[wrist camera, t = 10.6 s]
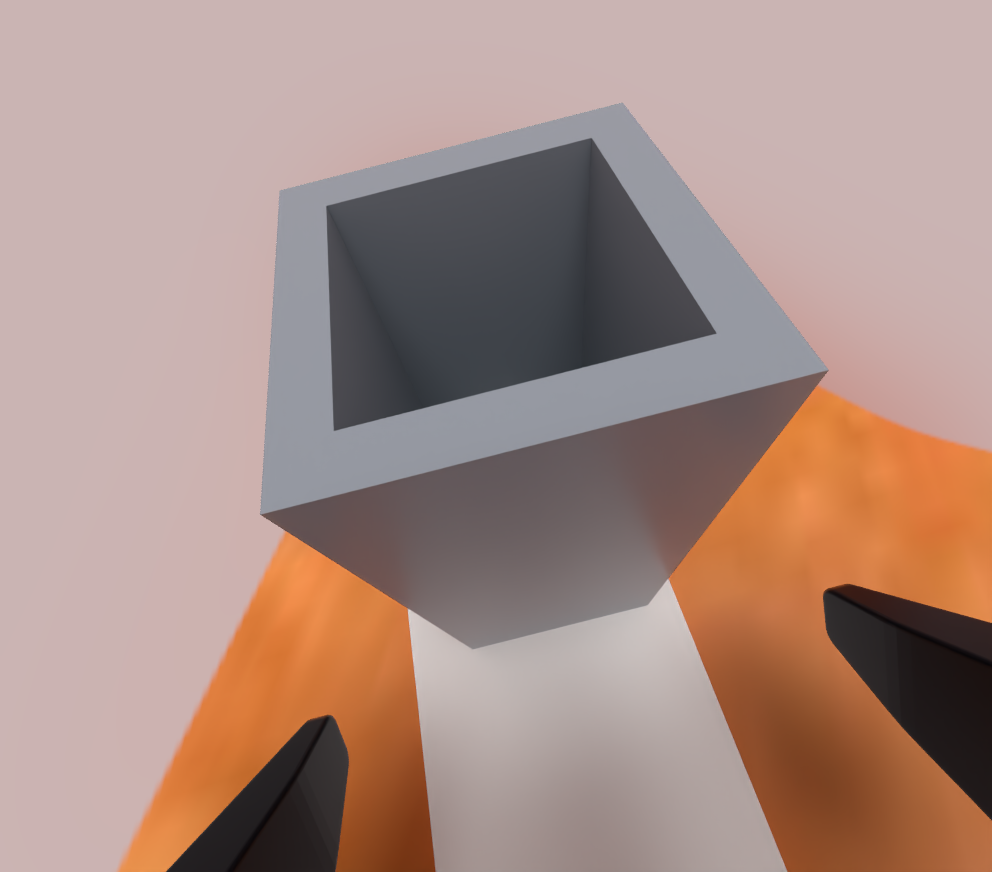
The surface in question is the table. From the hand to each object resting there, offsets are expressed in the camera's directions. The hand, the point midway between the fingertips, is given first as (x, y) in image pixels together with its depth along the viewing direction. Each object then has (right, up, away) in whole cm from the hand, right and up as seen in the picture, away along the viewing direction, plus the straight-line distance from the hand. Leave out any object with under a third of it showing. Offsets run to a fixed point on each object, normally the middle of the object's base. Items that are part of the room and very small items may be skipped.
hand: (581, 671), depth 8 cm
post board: (+1, -4, +8) cm, 9 cm away
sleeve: (0, 0, +9) cm, 9 cm away
